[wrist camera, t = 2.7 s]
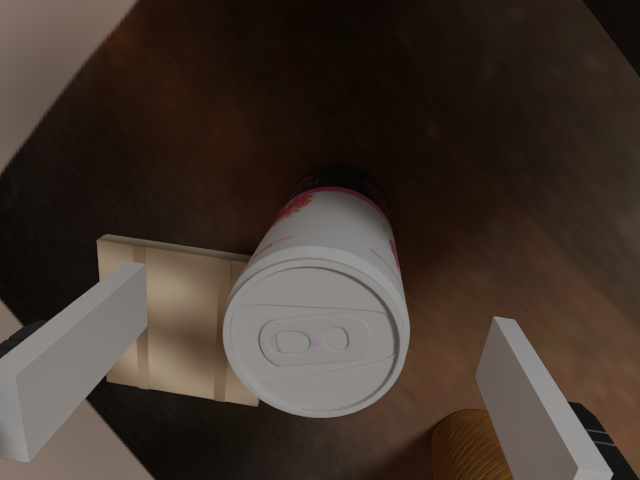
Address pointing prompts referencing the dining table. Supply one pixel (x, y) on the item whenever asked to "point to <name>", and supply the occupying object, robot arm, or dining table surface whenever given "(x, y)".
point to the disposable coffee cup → (468, 449)
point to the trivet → (179, 319)
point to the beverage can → (321, 301)
